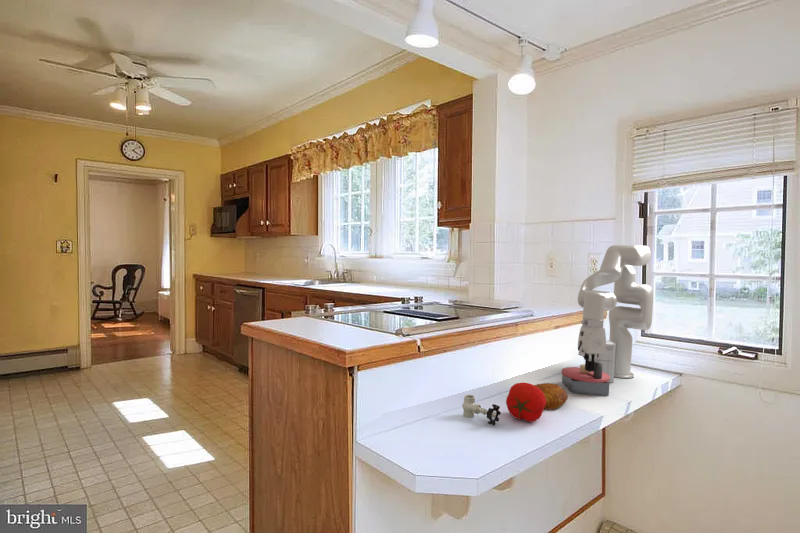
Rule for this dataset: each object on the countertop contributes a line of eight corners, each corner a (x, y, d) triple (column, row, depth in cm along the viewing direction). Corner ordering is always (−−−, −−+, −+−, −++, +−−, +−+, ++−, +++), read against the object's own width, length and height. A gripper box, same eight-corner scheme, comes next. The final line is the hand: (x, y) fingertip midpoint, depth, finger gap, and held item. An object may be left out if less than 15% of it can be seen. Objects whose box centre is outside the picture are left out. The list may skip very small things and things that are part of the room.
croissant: (571, 408, 165) (574, 387, 165) (556, 413, 153) (559, 390, 154) (534, 398, 174) (537, 377, 175) (516, 401, 162) (520, 379, 163)
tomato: (525, 420, 154) (512, 433, 143) (507, 385, 157) (492, 396, 146) (558, 407, 148) (547, 420, 137) (538, 371, 151) (526, 381, 140)
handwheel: (552, 370, 188) (553, 353, 188) (588, 369, 194) (589, 352, 193) (581, 383, 171) (582, 364, 171) (619, 381, 176) (621, 363, 176)
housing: (561, 382, 190) (562, 371, 190) (595, 385, 189) (596, 373, 189) (571, 393, 176) (572, 380, 176) (608, 395, 175) (609, 383, 175)
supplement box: (607, 377, 202) (610, 340, 202) (614, 383, 193) (616, 344, 193) (585, 375, 204) (587, 338, 203) (591, 381, 195) (593, 342, 194)
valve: (457, 416, 146) (488, 428, 138) (458, 396, 146) (489, 407, 138) (469, 412, 151) (500, 423, 142) (470, 392, 151) (501, 402, 142)
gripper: (584, 325, 168) (580, 373, 169) (615, 325, 173) (611, 372, 174) (570, 322, 175) (567, 368, 176) (600, 322, 180) (597, 367, 181)
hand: (589, 370), depth 175 cm, fingers closed
